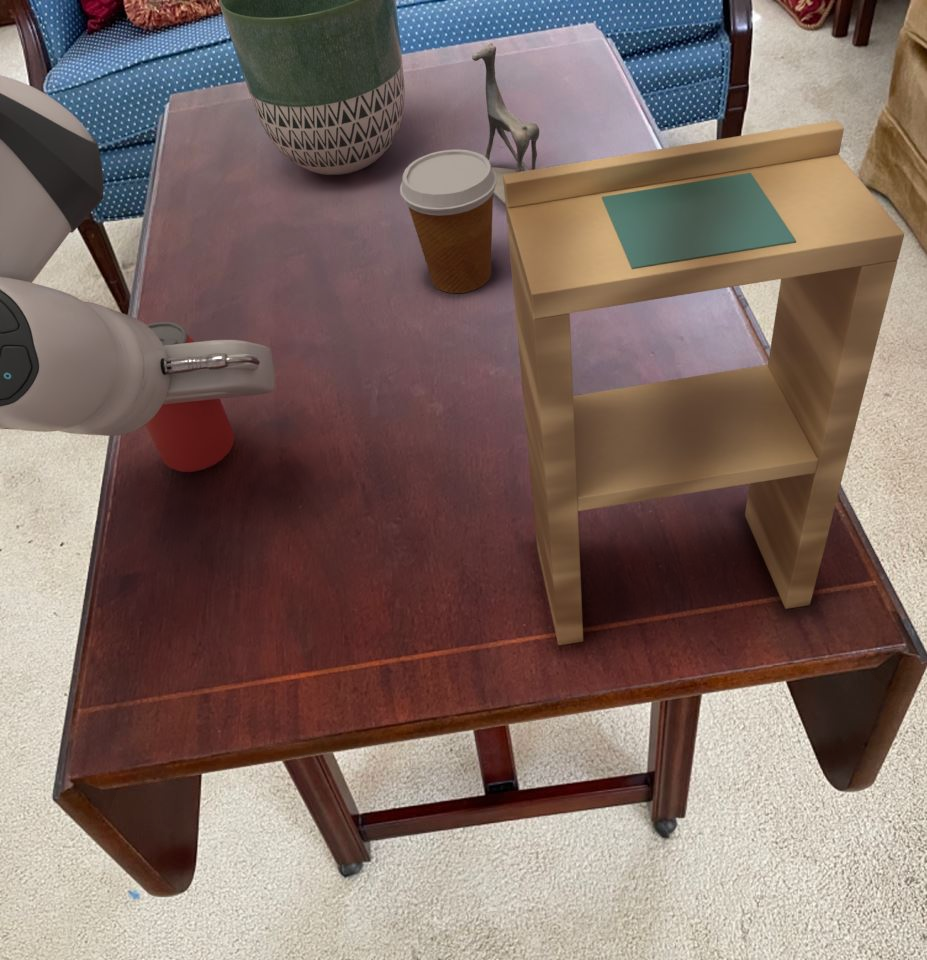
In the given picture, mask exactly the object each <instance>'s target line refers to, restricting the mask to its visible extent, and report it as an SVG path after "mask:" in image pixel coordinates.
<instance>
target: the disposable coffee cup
mask: <svg viewBox="0 0 927 960" xmlns="http://www.w3.org/2000/svg"><path fill="white" fill-rule="evenodd" d="M491 167H492V165H491V163H490V160H489V161H488V159H487V158H486V157H485V155H483V154H481V153H479V152H477V151H476V152H475V151H472V150H470V149H469V150H468V149H446V150H445V149H444V150H439V151H435V152H431V153H428V154H426V155H423V156H421V157H418V158H417V159H415V160H413V161H412V162H411V163H409V165H408V166H407V167H406V168H405V169H404V171H403V173H402V181H401V184H400V186H399V193H400V197H401V198H402V199H403V201H404V202H405V204H406V205H407V207H408V210H409V213H410V216H411V219H412V223H413V226H414V228H415V232H416V235H417V239H418V240H419V241H418V242H419V244H420V247H421V250H422V255H423V258H424V259H425V263H426V267H427V269H428V272H429V276H430V279H431V283H432V284H433V286H434V287H435V288H436V289H438V290H440V291H442V292H445V293H451V294H463V293H468V292H472V291H474V290H477V289H479V288H481V287H483V286H484V285H485V284H486V283H487V282H488V281H489V280H490V277H491V275H492V241H493V240H492V238H493V237H492V236H493V212H494V211H493V207H494V206H493V205H494V194H493V192H494V190H495V186H496V183H497V176H496V173H495V171H494V170H493V169H492V168H491Z"/></svg>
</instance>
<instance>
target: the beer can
mask: <svg viewBox="0 0 927 960" xmlns="http://www.w3.org/2000/svg"><path fill="white" fill-rule="evenodd" d="M146 325H147V326H148V327H149V328H150V329H151V330H152V331H153V332H154V333H155V334H156V335H157V336H158V338H159V339H160V341H161V342H162V344H163V346H164V345H174V344H183V343H193V342H195V340H194V339H193V338H192V337H191V336H189V334H188V333H187V331H186V329H185V328H184V327H183V326H181V325H180V324H178V323H174V322H170V321H158V322H154V323H148V324H146ZM144 426H145V428H146V429H147V432H148V434H149V435H150V437H151V440H152V442H153V444H154V446H155V448H156V450H157V452H158V454H159V456H160V458H161V460H162V462H163V463H164V464H165V465H167V467H169V468H170V469H171V470H175V471H178V472H181V473H182V472H183V473H194V472H199V471H200V472H201V471H204V470H206V469H209V468H211V467H213V466H215V465H216V464H218V463H220V462H221V461H223V459H225V457H226V456H227V455H229V453H230V451H231V449H232V447H233V445H234V442H235V432H234V429H233V428H232V425H231V423H230V420H229V417H228V415H227V413H226V410H225V408H224V405H223V403H222V401H221V399H211V400H202V401H192V402H182V403H172V404H162V406H161V408H160V409H159V411H158V412H157V413H156V415H155V416H154V417H153V418H152V419H151V420H150V421H149V422H148V423H146V424H145V425H144Z"/></svg>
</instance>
